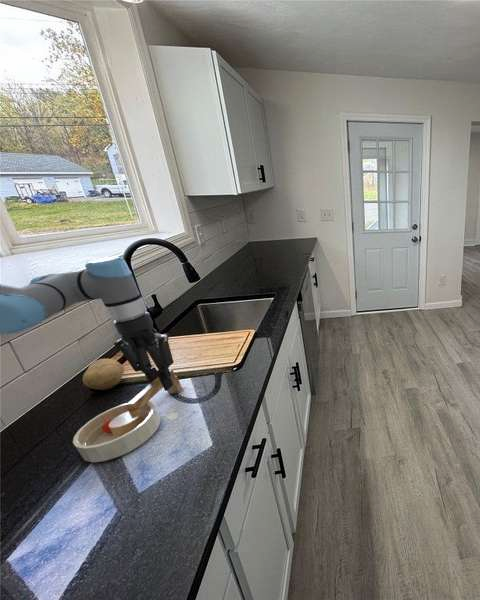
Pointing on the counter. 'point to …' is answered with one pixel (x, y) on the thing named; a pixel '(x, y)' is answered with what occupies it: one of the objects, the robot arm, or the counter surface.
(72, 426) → the counter surface
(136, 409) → the ladle
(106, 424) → the tomato
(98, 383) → the potato
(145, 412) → the bowl
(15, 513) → the counter surface
